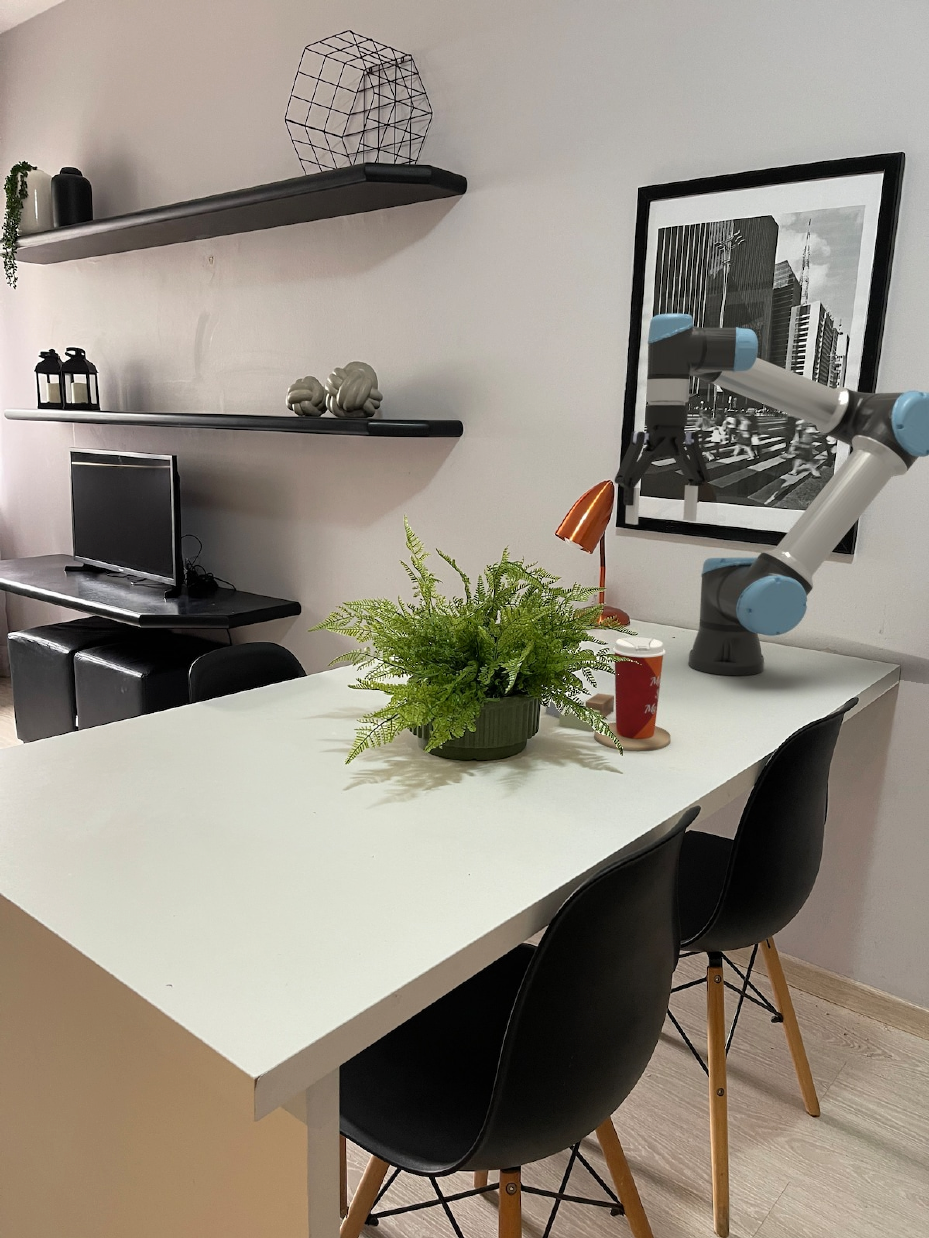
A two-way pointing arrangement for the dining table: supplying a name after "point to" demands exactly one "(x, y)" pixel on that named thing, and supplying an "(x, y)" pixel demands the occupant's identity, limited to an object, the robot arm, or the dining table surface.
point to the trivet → (635, 740)
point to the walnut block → (601, 703)
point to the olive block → (574, 722)
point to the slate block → (554, 710)
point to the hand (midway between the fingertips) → (661, 522)
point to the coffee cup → (637, 686)
